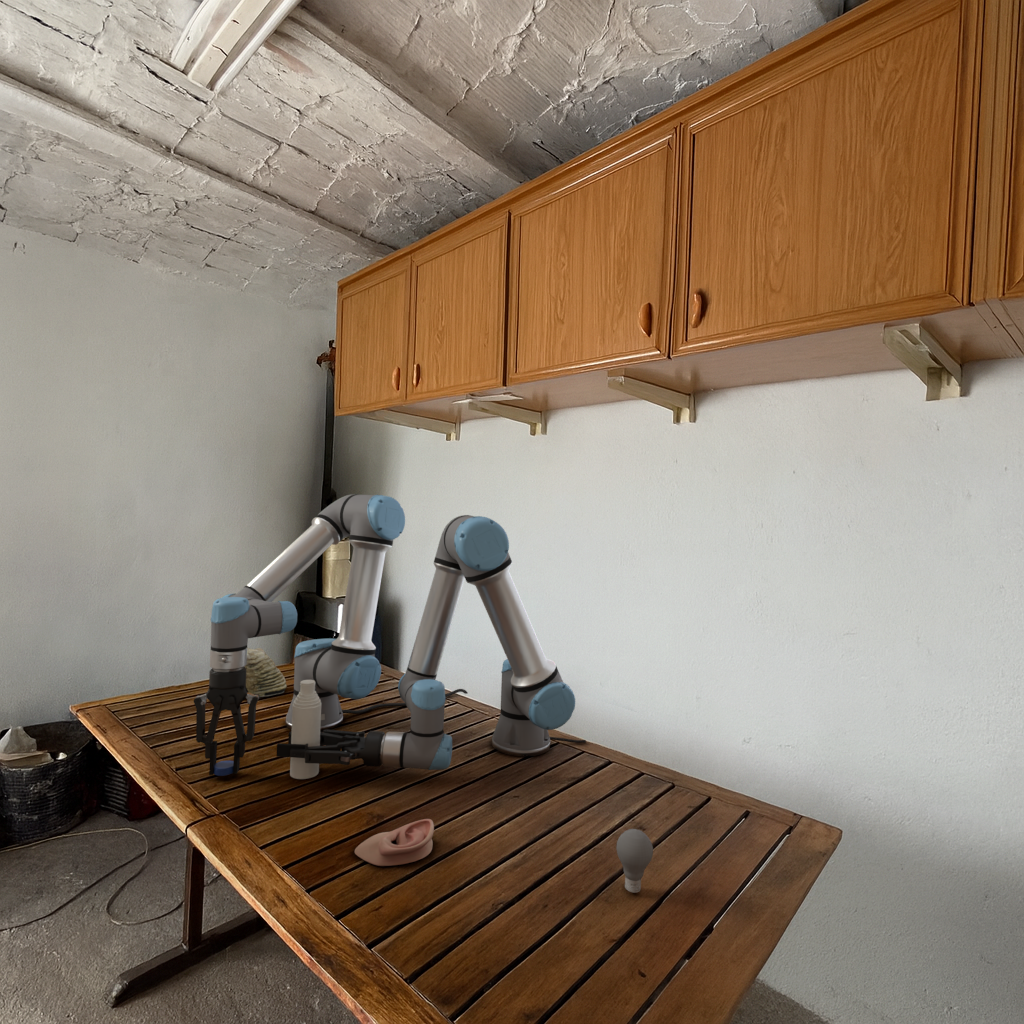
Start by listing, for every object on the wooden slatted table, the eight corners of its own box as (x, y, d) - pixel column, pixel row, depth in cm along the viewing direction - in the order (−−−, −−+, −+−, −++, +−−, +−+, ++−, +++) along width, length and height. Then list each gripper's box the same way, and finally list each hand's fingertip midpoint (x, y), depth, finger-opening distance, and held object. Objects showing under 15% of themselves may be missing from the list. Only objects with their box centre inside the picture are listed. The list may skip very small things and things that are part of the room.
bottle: (311, 765, 149) (314, 676, 149) (323, 774, 144) (327, 682, 144) (285, 772, 145) (288, 680, 144) (297, 781, 140) (300, 687, 140)
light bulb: (610, 879, 108) (613, 822, 108) (644, 879, 109) (647, 822, 109) (619, 902, 102) (622, 840, 102) (655, 901, 103) (658, 840, 103)
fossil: (218, 695, 195) (220, 647, 195) (278, 685, 208) (279, 640, 207) (228, 703, 189) (230, 653, 188) (289, 692, 201) (290, 645, 201)
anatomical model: (347, 838, 110) (374, 807, 122) (346, 860, 111) (373, 828, 122) (419, 850, 108) (440, 817, 119) (418, 873, 108) (439, 838, 119)
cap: (213, 769, 142) (213, 761, 142) (234, 766, 144) (235, 759, 144) (213, 777, 138) (213, 769, 138) (235, 774, 140) (236, 766, 140)
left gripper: (180, 672, 135) (177, 781, 136) (266, 671, 139) (262, 777, 139) (191, 663, 143) (187, 766, 143) (272, 663, 146) (268, 763, 147)
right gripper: (372, 784, 135) (265, 778, 135) (392, 748, 154) (297, 743, 154) (374, 749, 134) (266, 743, 135) (393, 718, 154) (299, 713, 154)
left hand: (224, 771), depth 141 cm, fingers closed on cap, 4 cm apart
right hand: (283, 743), depth 145 cm, fingers closed on bottle, 6 cm apart
